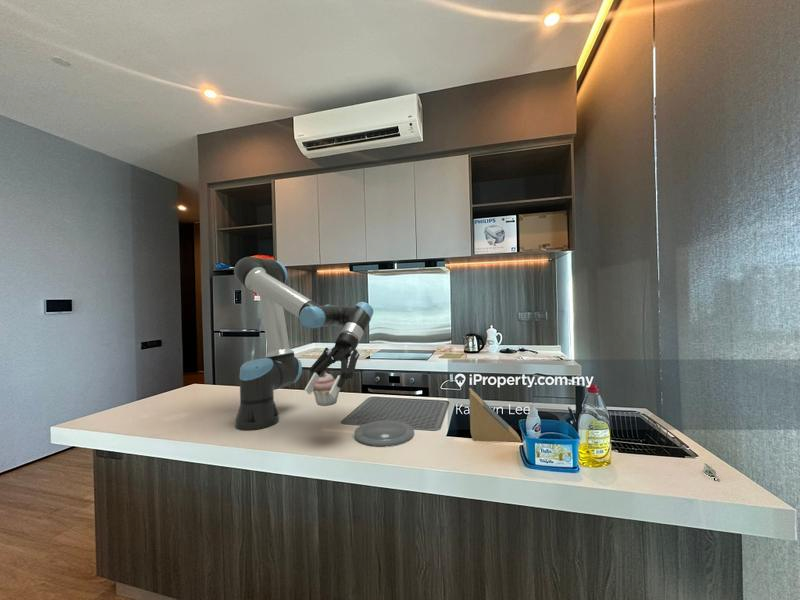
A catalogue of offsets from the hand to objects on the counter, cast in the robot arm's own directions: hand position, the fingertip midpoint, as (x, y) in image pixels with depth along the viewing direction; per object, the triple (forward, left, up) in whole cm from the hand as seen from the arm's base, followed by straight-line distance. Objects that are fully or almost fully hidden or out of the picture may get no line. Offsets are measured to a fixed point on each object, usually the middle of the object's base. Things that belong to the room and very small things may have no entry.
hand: (319, 393), depth 106 cm
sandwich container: (+38, +41, -16) cm, 59 cm away
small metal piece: (+89, +51, -17) cm, 104 cm away
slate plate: (+9, +19, -16) cm, 27 cm away
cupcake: (-1, +3, -4) cm, 5 cm away
